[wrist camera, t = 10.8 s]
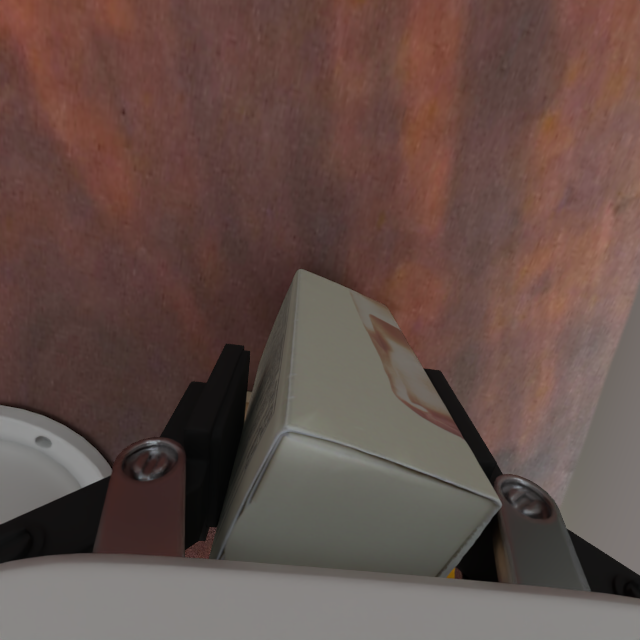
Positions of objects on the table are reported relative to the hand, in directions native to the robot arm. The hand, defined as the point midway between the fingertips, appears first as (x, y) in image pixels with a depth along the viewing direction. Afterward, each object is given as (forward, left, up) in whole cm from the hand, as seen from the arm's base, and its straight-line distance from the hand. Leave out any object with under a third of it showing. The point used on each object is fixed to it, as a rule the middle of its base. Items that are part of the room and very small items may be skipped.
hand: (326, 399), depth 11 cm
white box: (0, 0, -5) cm, 5 cm away
